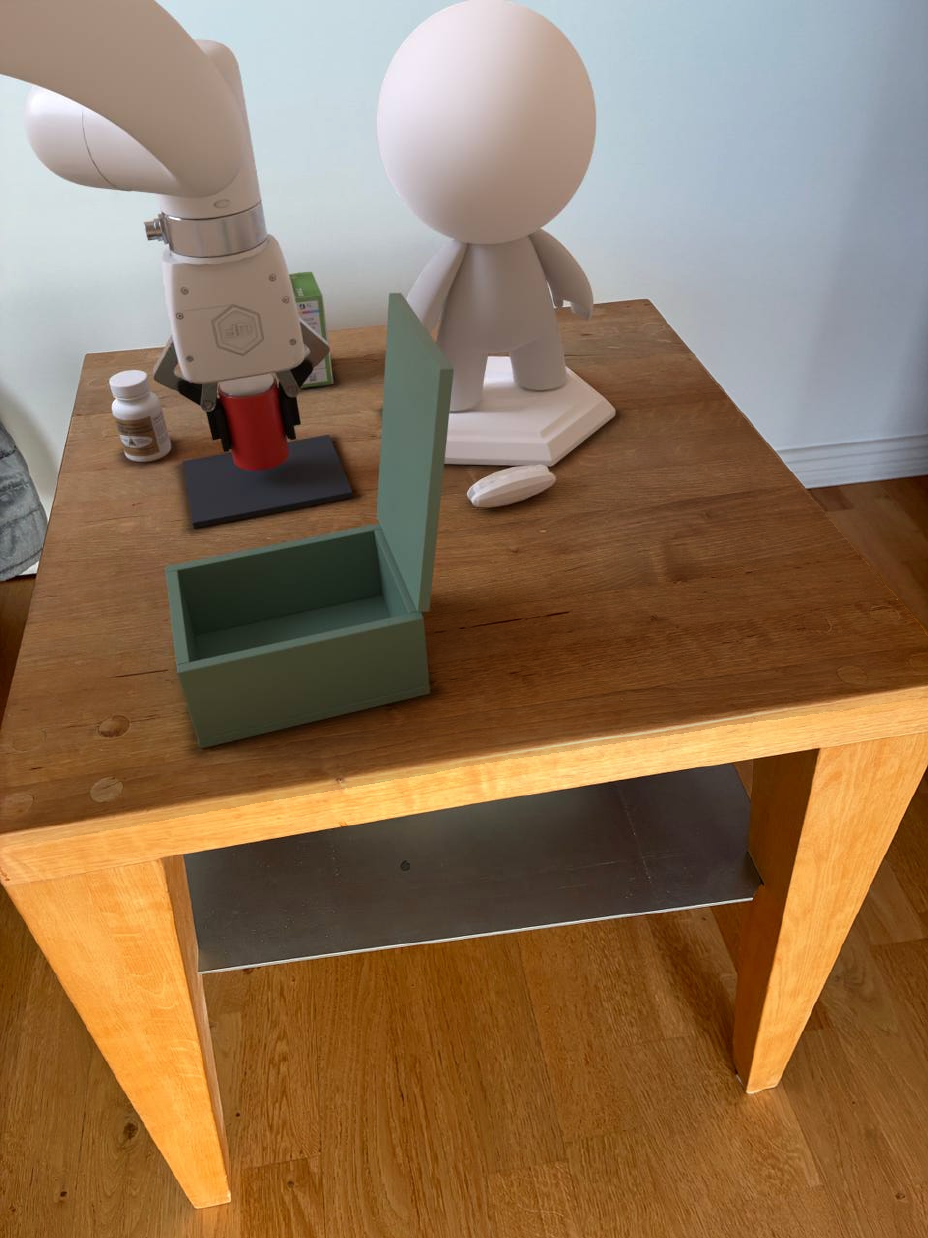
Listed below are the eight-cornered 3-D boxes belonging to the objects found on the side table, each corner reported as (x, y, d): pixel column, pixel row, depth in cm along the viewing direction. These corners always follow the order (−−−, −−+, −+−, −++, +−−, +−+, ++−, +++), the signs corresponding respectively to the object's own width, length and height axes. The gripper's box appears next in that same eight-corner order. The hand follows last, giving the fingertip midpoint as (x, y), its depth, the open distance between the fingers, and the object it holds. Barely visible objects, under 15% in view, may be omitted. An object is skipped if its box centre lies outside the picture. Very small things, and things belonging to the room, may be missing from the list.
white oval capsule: (559, 495, 85) (560, 467, 83) (477, 519, 83) (476, 491, 81) (542, 478, 87) (542, 451, 86) (461, 501, 85) (460, 474, 83)
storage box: (200, 749, 63) (177, 673, 59) (186, 639, 72) (164, 565, 68) (430, 693, 67) (424, 617, 62) (390, 595, 75) (382, 522, 71)
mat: (193, 528, 83) (192, 522, 83) (183, 466, 91) (182, 460, 91) (353, 497, 86) (352, 491, 86) (329, 439, 94) (329, 434, 94)
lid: (439, 369, 52) (454, 368, 52) (388, 292, 61) (401, 292, 61) (417, 613, 62) (429, 611, 62) (376, 517, 70) (387, 516, 71)
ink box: (335, 384, 103) (318, 258, 95) (298, 390, 103) (278, 263, 94) (325, 358, 109) (308, 235, 100) (290, 363, 108) (269, 240, 99)
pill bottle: (118, 462, 92) (95, 387, 88) (137, 439, 96) (116, 366, 91) (161, 464, 92) (140, 389, 87) (179, 441, 95) (160, 368, 90)
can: (237, 475, 85) (220, 400, 80) (230, 448, 89) (214, 375, 84) (293, 464, 86) (280, 390, 81) (284, 438, 90) (271, 365, 85)
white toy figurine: (536, 350, 108) (540, -26, 86) (646, 441, 92) (685, 7, 69) (367, 388, 102) (323, -3, 80) (451, 493, 86) (425, 38, 64)
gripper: (102, 260, 70) (163, 477, 82) (335, 228, 73) (361, 441, 85) (100, 228, 75) (157, 436, 87) (317, 199, 79) (343, 403, 91)
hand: (257, 436), depth 86 cm, fingers closed on can, 5 cm apart
